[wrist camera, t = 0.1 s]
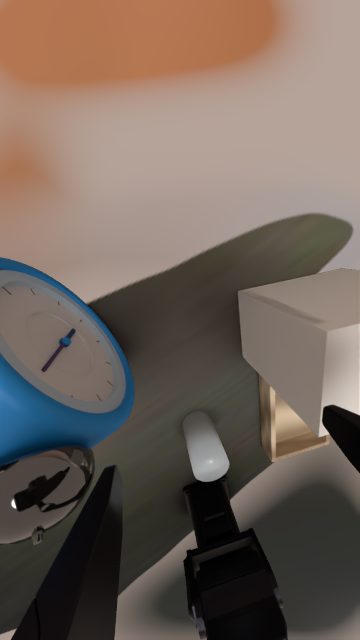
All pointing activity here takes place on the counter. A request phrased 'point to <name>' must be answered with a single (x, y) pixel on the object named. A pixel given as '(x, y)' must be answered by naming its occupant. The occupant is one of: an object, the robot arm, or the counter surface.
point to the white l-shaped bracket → (306, 341)
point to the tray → (284, 427)
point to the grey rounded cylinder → (204, 447)
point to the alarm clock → (52, 399)
